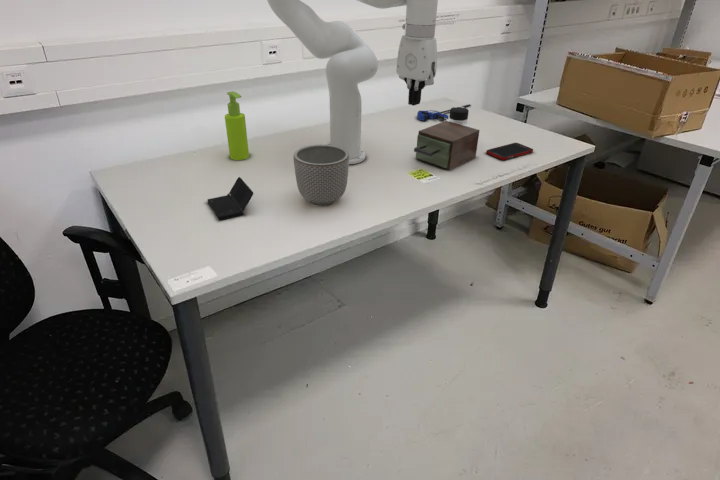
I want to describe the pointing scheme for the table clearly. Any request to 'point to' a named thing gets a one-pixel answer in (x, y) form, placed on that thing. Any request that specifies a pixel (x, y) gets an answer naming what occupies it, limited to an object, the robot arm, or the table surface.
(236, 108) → the soap dispenser
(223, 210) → the handheld gaming console
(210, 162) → the table surface
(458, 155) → the cabinet
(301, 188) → the planter
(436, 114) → the bar clamp
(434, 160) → the drawer
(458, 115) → the medicine bottle
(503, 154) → the cell phone
